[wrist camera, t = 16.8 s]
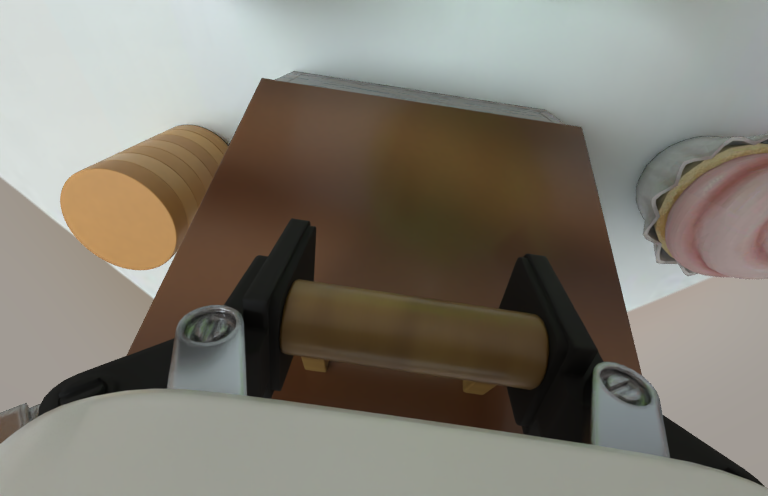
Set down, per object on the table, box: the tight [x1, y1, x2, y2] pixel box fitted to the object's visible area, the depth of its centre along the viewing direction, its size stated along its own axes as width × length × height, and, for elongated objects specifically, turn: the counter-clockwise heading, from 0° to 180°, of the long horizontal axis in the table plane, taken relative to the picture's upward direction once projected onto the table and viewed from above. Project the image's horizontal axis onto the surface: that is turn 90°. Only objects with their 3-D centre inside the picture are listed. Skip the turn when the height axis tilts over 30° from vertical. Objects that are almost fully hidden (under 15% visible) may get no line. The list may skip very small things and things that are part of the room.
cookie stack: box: [60, 125, 228, 270], centre depth 25 cm, size 6×6×9 cm
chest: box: [275, 71, 566, 125], centre depth 27 cm, size 15×17×5 cm
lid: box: [127, 78, 642, 434], centre depth 14 cm, size 16×17×5 cm
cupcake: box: [636, 134, 768, 279], centre depth 23 cm, size 9×9×10 cm
